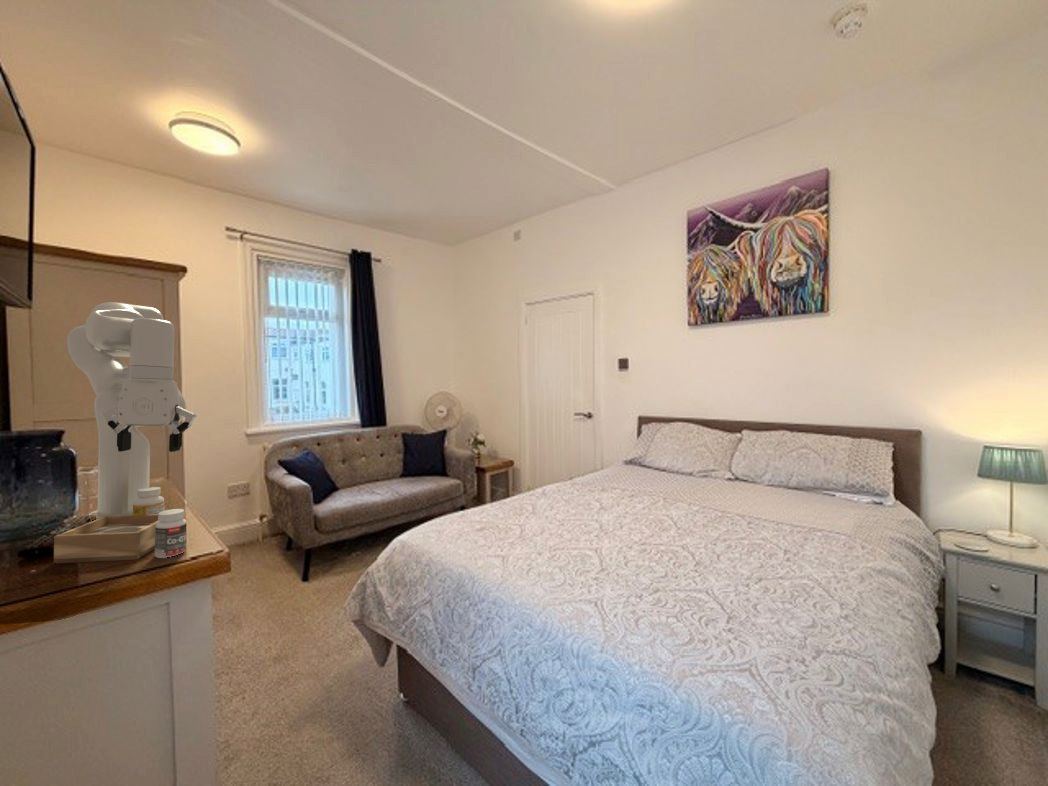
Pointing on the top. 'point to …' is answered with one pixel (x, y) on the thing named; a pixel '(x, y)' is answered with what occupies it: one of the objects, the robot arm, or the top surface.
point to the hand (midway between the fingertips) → (149, 450)
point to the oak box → (107, 539)
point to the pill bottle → (170, 533)
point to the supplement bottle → (148, 501)
